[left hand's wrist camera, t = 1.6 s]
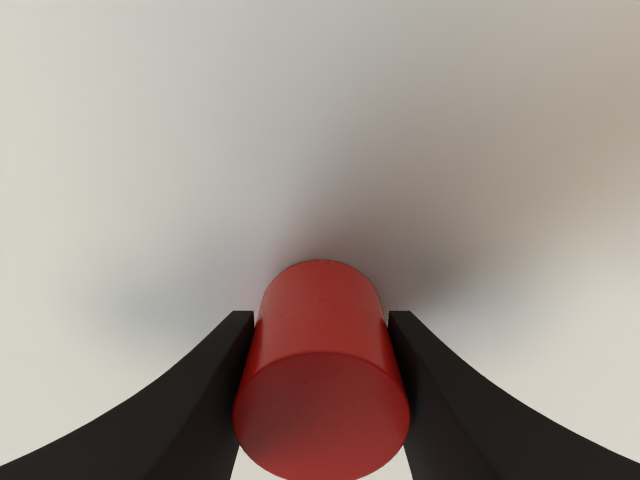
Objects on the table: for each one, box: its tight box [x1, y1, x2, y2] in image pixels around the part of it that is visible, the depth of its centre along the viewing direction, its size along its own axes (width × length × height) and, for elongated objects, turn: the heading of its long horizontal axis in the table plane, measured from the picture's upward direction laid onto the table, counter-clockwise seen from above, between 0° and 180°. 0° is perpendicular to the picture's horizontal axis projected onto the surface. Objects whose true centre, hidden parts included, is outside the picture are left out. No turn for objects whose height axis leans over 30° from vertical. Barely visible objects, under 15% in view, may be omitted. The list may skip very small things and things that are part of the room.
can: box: [232, 260, 411, 480], centre depth 10 cm, size 4×4×4 cm
